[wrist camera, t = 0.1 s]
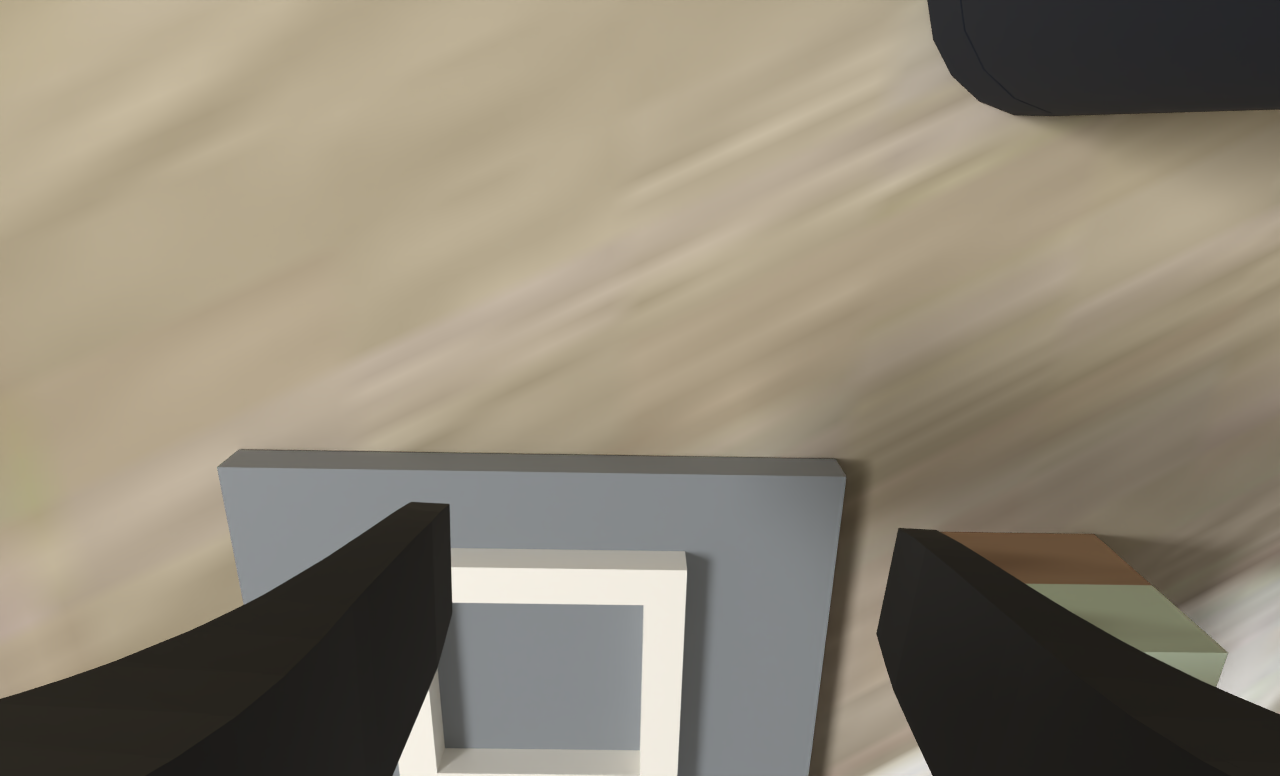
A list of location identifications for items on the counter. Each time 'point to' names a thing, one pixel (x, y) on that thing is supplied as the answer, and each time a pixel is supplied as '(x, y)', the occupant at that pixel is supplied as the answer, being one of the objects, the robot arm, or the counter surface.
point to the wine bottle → (1112, 54)
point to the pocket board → (585, 600)
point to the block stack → (1102, 594)
